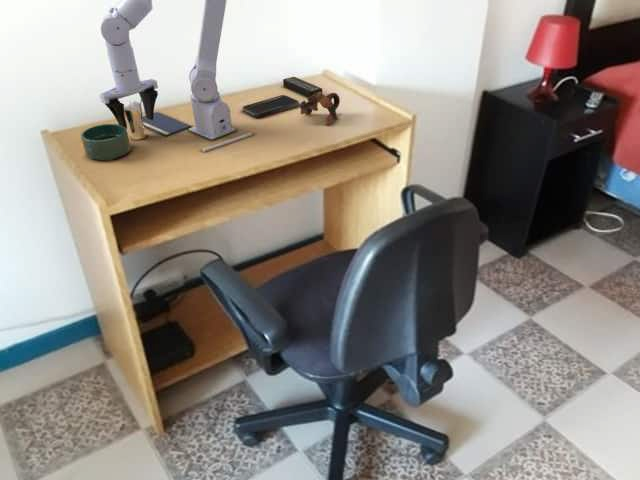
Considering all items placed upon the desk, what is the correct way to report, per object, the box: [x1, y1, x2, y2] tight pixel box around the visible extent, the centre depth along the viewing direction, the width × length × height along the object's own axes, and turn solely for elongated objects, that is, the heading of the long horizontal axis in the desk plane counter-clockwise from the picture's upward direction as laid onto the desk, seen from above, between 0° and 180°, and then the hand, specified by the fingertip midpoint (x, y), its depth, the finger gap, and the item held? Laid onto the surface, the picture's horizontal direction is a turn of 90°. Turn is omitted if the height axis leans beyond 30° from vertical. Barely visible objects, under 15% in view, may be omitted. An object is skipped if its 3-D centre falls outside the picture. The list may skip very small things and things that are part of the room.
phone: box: [242, 94, 300, 119], centre depth 164 cm, size 8×1×15 cm
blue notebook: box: [142, 111, 192, 137], centre depth 155 cm, size 15×8×1 cm, turn 51°
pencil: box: [202, 132, 254, 153], centre depth 146 cm, size 1×1×15 cm
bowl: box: [80, 123, 132, 161], centre depth 139 cm, size 10×10×5 cm
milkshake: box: [123, 99, 146, 141], centre depth 145 cm, size 4×5×10 cm
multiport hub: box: [282, 76, 323, 99], centre depth 175 cm, size 4×14×2 cm, turn 42°
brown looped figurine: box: [298, 91, 341, 126], centre depth 158 cm, size 12×10×8 cm
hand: (137, 123), depth 146 cm, fingers open, 7 cm apart
